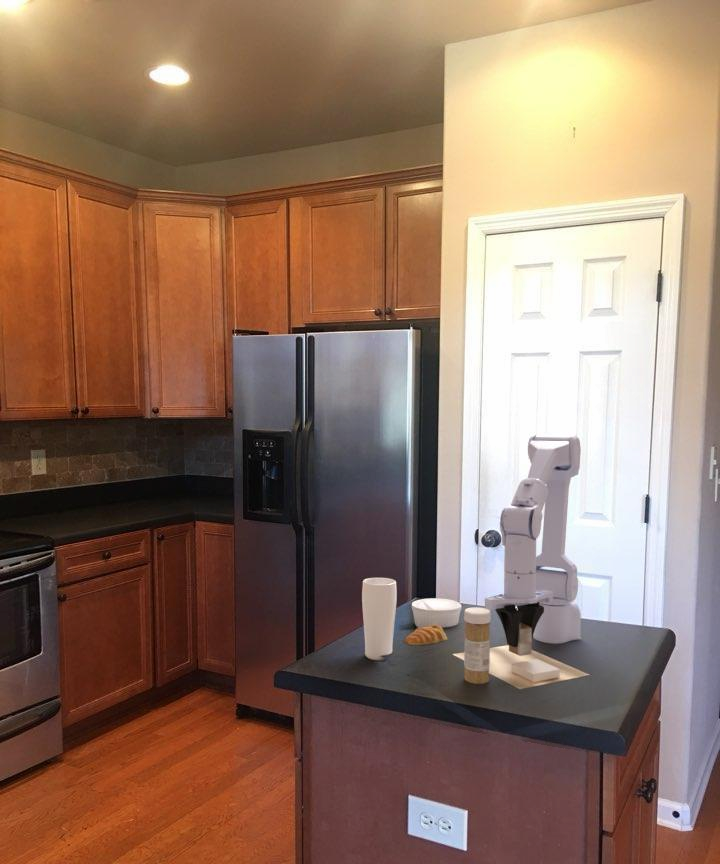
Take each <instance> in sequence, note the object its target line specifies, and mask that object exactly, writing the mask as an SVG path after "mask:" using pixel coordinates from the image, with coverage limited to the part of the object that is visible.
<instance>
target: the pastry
mask: <svg viewBox="0 0 720 864" xmlns="http://www.w3.org/2000/svg"><path fill="white" fill-rule="evenodd" d="M447 640H448V637H447V634H446V633H445V632H444V628H443V627H442V628H441V627H440V626H438V625H432V626H431V625H429V626H428V627H423V628H418V627H417V628H416V629H415V630H414V631H412V632H411V633H409V634H408V635H407V636H406V637H405V638H404V643H405V644H406V645H409V646H424V645H425V646H426V645H430V644H437V643H440V642H444V641H447Z"/></svg>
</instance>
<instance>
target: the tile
mask: <svg viewBox="0 0 720 864" xmlns="http://www.w3.org/2000/svg"><path fill="white" fill-rule="evenodd" d="M511 671H512V672H513V673H515V674H517V675H519V676H521V677H523V678H525V679H527V680H530V681H532V682H539V681H544V680H549V679H554V678H558V677H560V669H559V668H556V667H554V666H552V665H550V664H547V663H545V662H543V661H541V660H538V659H534V660H529V661H523V662H518V663H512V664H511Z"/></svg>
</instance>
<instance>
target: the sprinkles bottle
mask: <svg viewBox="0 0 720 864" xmlns="http://www.w3.org/2000/svg"><path fill="white" fill-rule="evenodd" d="M463 615H464V616H463V617H464V619H463V621H464V623H465V624H464V628H465V629H464V648H463V649H464V652H463V653H464V660H463V662H464V663H463V665H464V680H465V681H466V682H468V683H470V684H474V685H475V684H476V685H477V684H478V685H480V684H481V685H482V684H486V683H488V682H490V679H489V678H490V674H489V666H490V648H491V638H490V624H491V622H492V621H491V616H492V615H491V610H488V609H486V608H485V607H468V608H465V610H464V614H463Z"/></svg>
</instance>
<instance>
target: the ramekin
mask: <svg viewBox="0 0 720 864" xmlns="http://www.w3.org/2000/svg"><path fill="white" fill-rule="evenodd" d="M411 610H412V614H413V619H414V624H415V626H416V628H417V629H418V628H423V627H428V626H429V625H431V626H432V625H438V626H440V627H441V628H442V629H443V628H450V627H455V626H456V625H459V619H460V615H461V611H462V604H461V603H460V602H458V601H456V600H452V599H448V598H435V597H433V598H432V597H431V598H422V599H416V600H414V601H412V602H411Z"/></svg>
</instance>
